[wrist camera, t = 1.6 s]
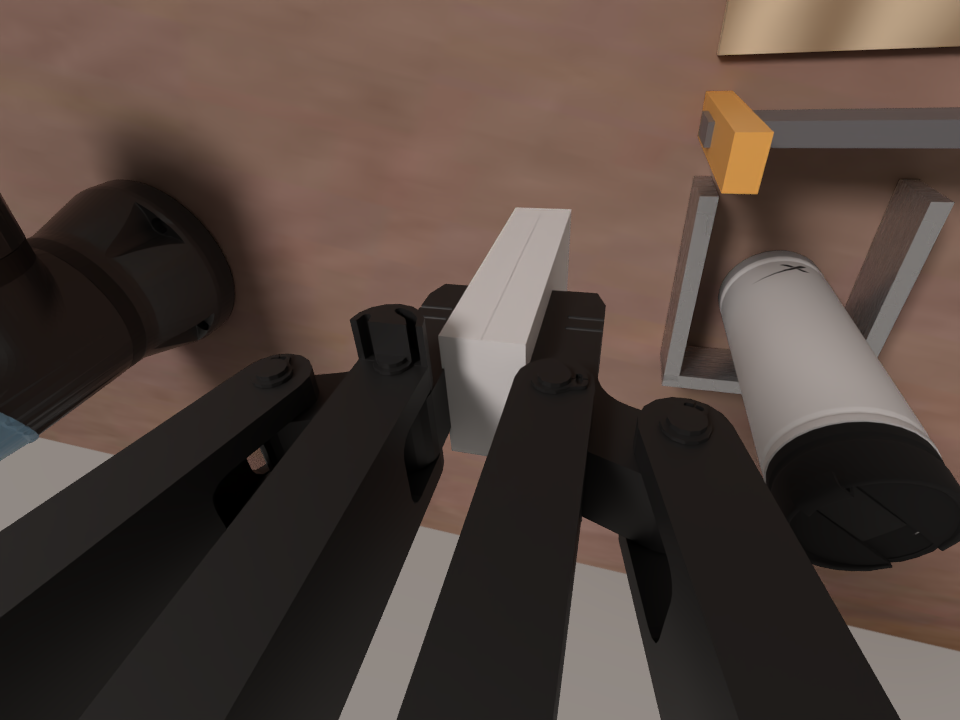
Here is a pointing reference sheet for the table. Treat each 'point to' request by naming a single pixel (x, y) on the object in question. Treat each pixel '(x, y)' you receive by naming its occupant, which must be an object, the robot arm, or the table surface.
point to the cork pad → (837, 25)
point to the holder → (870, 304)
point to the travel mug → (832, 422)
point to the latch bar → (808, 134)
